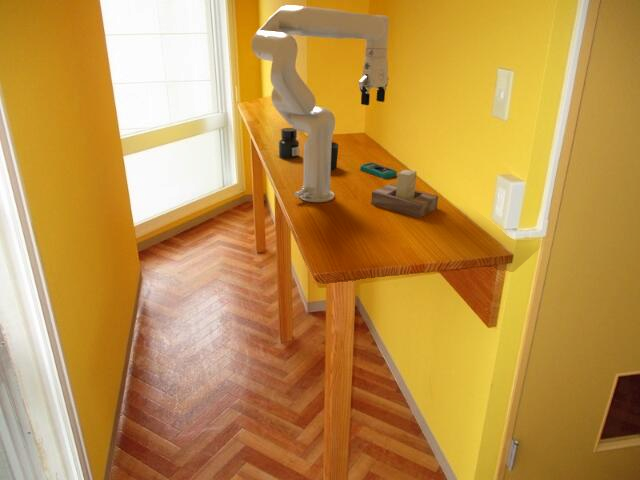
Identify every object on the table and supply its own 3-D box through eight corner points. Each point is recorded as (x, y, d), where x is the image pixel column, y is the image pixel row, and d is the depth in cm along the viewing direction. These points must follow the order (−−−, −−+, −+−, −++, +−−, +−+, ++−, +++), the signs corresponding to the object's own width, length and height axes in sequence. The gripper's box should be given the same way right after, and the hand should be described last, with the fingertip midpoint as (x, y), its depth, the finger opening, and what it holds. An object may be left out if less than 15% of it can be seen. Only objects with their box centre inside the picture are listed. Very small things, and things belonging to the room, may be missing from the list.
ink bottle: (298, 159, 234) (298, 132, 229) (278, 159, 234) (277, 131, 229) (299, 153, 242) (299, 127, 237) (280, 153, 242) (279, 126, 238)
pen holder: (311, 165, 226) (311, 142, 221) (331, 163, 229) (332, 140, 225) (320, 172, 218) (320, 148, 214) (341, 169, 221) (342, 146, 217)
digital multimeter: (385, 180, 211) (385, 173, 210) (359, 171, 222) (359, 164, 220) (397, 177, 216) (398, 170, 214) (372, 168, 226) (372, 161, 225)
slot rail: (419, 218, 174) (420, 205, 173) (371, 204, 185) (372, 191, 183) (436, 208, 183) (438, 196, 181) (390, 195, 194) (391, 183, 192)
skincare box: (405, 210, 181) (409, 175, 176) (394, 207, 183) (397, 173, 178) (413, 204, 186) (417, 171, 181) (402, 202, 188) (405, 168, 183)
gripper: (370, 55, 179) (367, 107, 186) (398, 52, 191) (394, 101, 198) (352, 54, 183) (350, 104, 190) (380, 51, 195) (377, 98, 202)
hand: (372, 103), depth 194 cm, fingers open, 9 cm apart
